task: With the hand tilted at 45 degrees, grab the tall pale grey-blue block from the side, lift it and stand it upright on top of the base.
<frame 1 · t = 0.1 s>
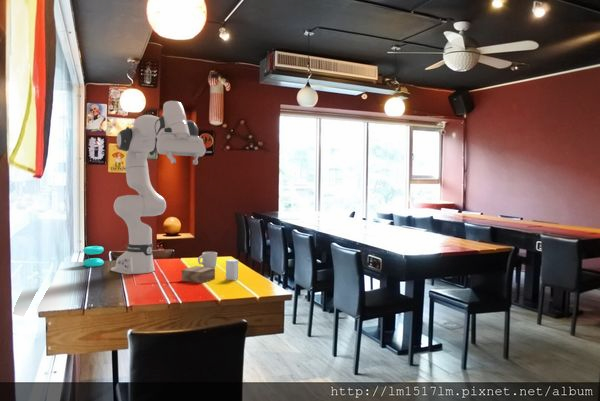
hand: (184, 163, 187), 54 cm above the table, tool tilted 30°, fingers open, 8 cm apart
base: (198, 279, 218), on the table
cup: (207, 268, 246), on the table
donuts: (93, 265, 246), on the table
block: (232, 278, 221), on the table
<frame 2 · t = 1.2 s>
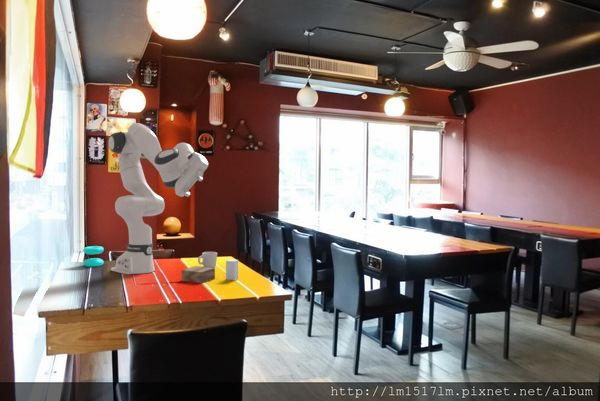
hand: (194, 187, 194), 44 cm above the table, tool tilted 55°, fingers open, 8 cm apart
nothing on the table moved.
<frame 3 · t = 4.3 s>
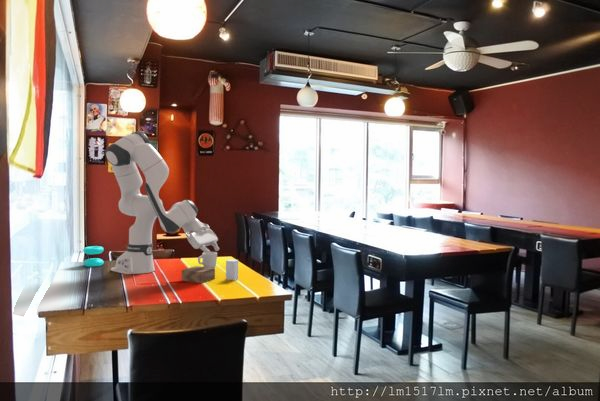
hand: (213, 251, 222), 13 cm above the table, tool tilted 45°, fingers open, 8 cm apart
nothing on the table moved.
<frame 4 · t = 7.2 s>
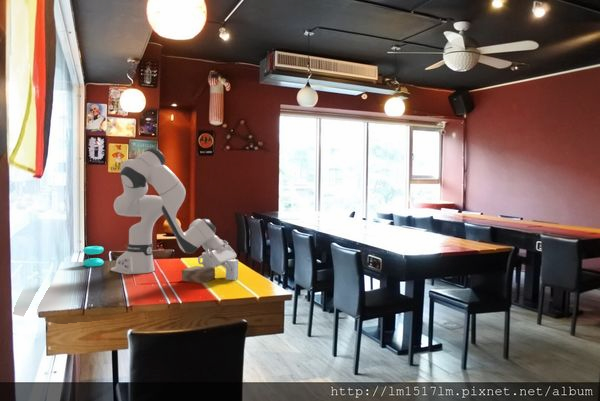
hand: (233, 268, 220), 5 cm above the table, tool tilted 45°, fingers closed on block, 4 cm apart
block: (232, 278, 221), on the table, touching gripper
everything else where it was.
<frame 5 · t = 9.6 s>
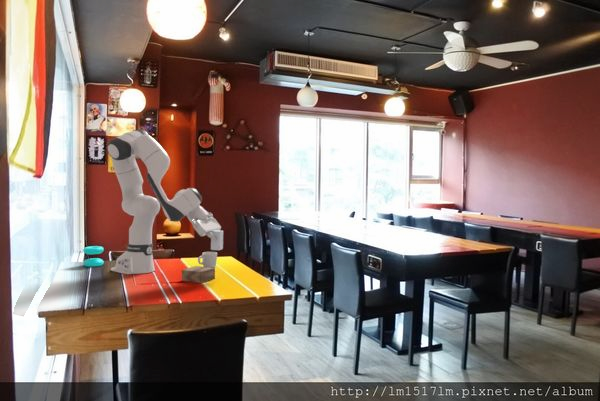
hand: (218, 239, 220), 19 cm above the table, tool tilted 45°, fingers closed on block, 4 cm apart
block: (216, 249, 221), point 14 cm above the table, touching gripper
everything else where it was.
when the fingers open (11 cm above the table, at t = 12.4 s): block drops 1 cm, resting on base.
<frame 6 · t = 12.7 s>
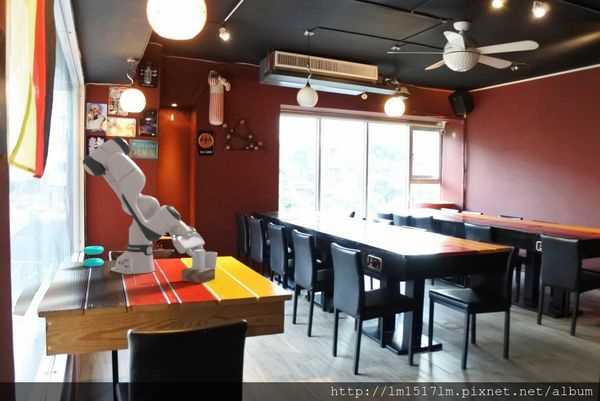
hand: (199, 255, 217), 11 cm above the table, tool tilted 45°, fingers open, 7 cm apart
block: (198, 269, 218), point 5 cm above the table, touching base
everything else where it was.
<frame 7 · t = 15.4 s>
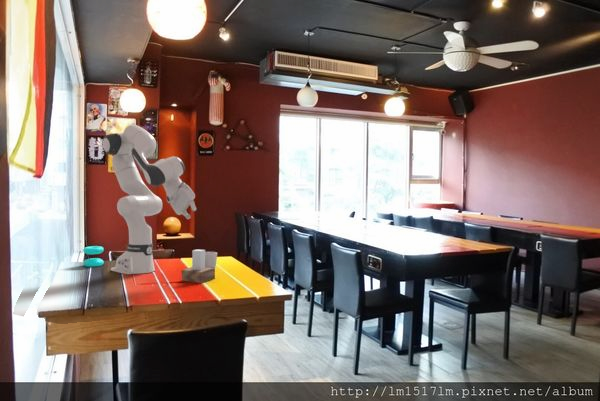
hand: (192, 214, 216), 31 cm above the table, tool tilted 35°, fingers open, 8 cm apart
nothing on the table moved.
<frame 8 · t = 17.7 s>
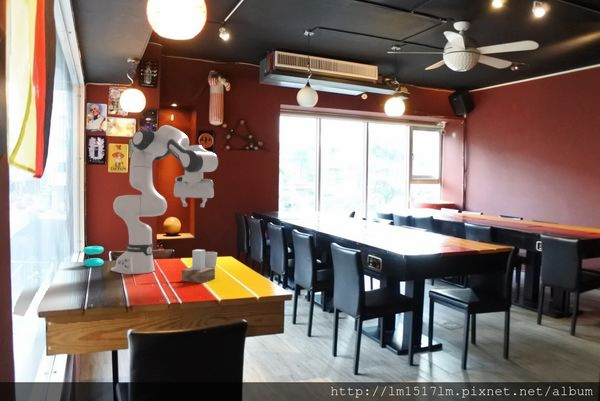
hand: (193, 206, 224), 34 cm above the table, tool pointing down, fingers open, 8 cm apart
nothing on the table moved.
at the end: block inside the target area on the base (0.0 cm from its centre), point 5.0 cm above the base's base; block tilted 0°; the gripper is holding nothing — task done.
